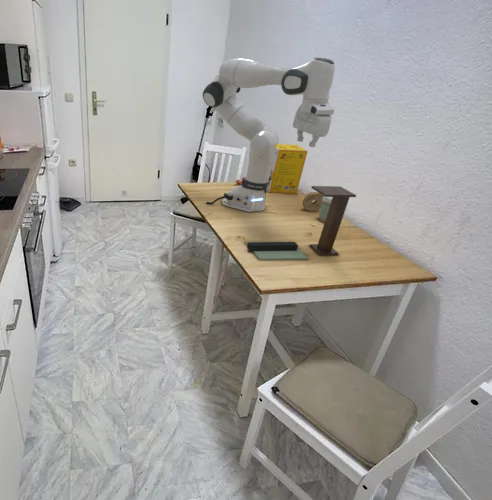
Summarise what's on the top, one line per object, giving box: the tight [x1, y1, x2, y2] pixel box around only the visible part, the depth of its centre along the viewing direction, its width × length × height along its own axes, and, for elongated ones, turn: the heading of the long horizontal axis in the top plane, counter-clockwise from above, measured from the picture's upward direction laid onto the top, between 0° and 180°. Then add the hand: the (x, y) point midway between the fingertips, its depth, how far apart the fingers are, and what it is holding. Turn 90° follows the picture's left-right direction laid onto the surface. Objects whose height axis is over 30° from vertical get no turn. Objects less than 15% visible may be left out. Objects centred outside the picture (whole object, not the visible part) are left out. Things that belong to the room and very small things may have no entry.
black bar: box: [246, 241, 299, 252], centre depth 146 cm, size 20×3×2 cm, turn 97°
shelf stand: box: [309, 185, 357, 256], centre depth 142 cm, size 14×10×26 cm
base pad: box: [246, 241, 309, 261], centre depth 146 cm, size 20×14×1 cm
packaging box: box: [267, 143, 308, 195], centre depth 214 cm, size 16×16×25 cm
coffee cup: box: [318, 196, 333, 223], centre depth 176 cm, size 9×8×12 cm
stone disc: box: [302, 191, 324, 212], centre depth 187 cm, size 10×4×10 cm, turn 89°
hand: (305, 143), depth 143 cm, fingers open, 8 cm apart
